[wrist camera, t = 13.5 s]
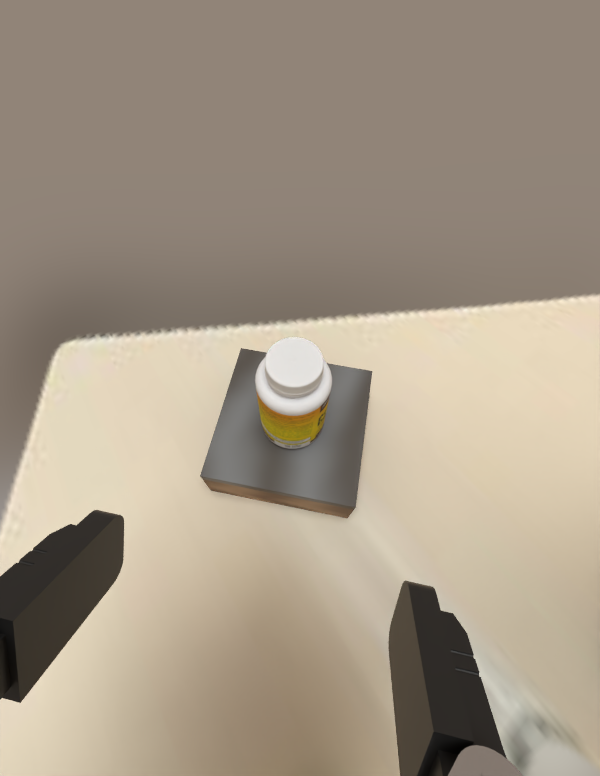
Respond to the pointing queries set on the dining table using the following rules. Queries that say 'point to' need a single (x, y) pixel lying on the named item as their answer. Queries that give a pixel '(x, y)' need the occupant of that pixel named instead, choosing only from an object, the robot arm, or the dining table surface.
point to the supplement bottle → (293, 392)
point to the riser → (290, 466)
